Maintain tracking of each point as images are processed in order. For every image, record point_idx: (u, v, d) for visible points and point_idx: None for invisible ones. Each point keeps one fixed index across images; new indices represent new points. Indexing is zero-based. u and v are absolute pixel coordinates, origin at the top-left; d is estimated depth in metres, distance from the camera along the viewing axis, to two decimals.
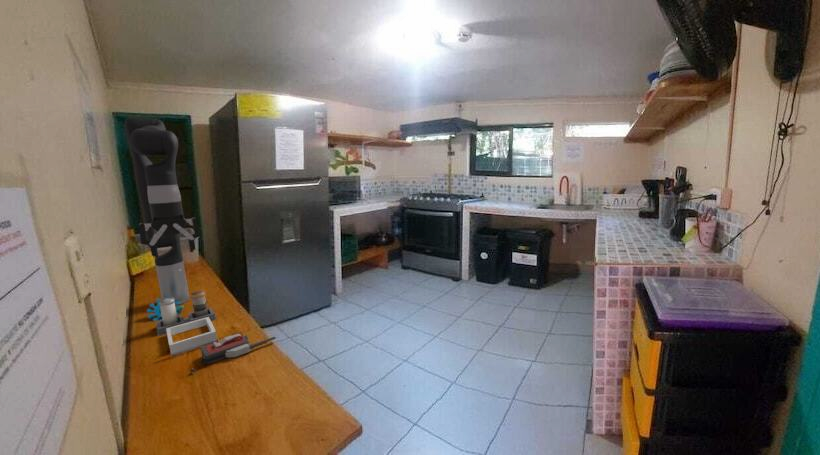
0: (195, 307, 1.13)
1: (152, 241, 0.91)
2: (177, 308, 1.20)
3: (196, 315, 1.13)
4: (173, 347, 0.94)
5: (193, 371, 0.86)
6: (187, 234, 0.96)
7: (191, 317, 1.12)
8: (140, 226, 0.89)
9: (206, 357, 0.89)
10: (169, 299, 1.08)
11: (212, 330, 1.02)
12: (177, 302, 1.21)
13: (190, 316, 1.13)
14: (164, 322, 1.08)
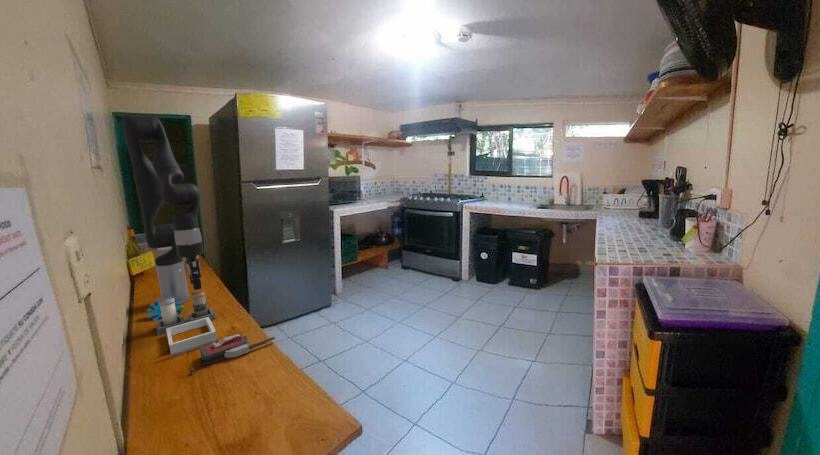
0: (195, 307, 1.13)
1: None
2: (177, 308, 1.20)
3: (196, 315, 1.13)
4: (173, 347, 0.94)
5: (192, 371, 0.85)
6: None
7: (191, 317, 1.12)
8: (198, 262, 1.07)
9: (205, 357, 0.89)
10: (169, 299, 1.08)
11: (212, 330, 1.02)
12: (177, 302, 1.22)
13: (190, 316, 1.13)
14: (164, 322, 1.08)
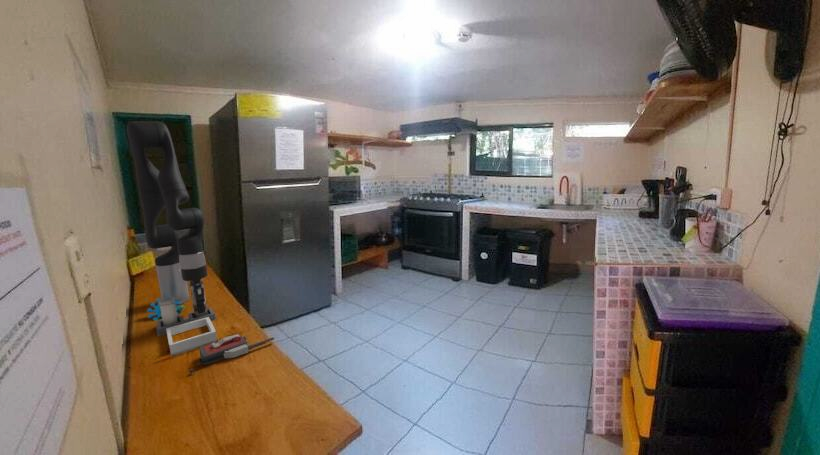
0: (195, 307, 1.13)
1: None
2: (177, 308, 1.20)
3: (196, 315, 1.13)
4: (173, 347, 0.94)
5: (192, 371, 0.85)
6: None
7: (191, 317, 1.12)
8: (203, 290, 1.09)
9: (204, 358, 0.89)
10: (169, 299, 1.08)
11: (212, 330, 1.02)
12: (177, 302, 1.22)
13: (190, 316, 1.13)
14: (164, 322, 1.08)
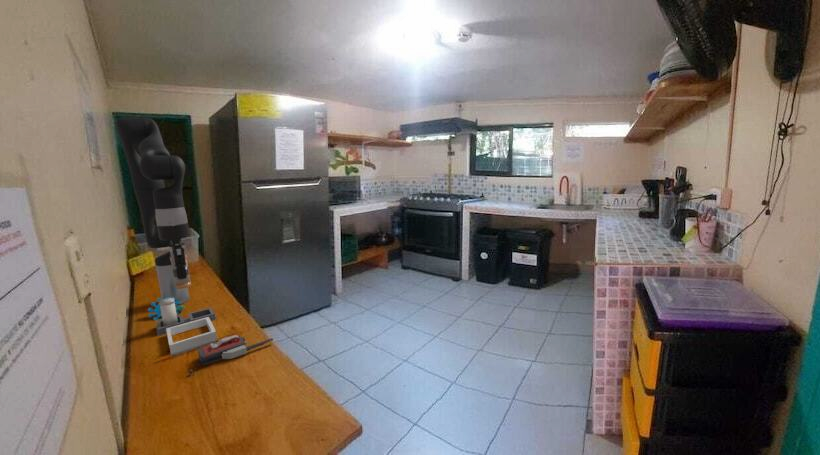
0: (175, 272, 0.97)
1: None
2: (177, 308, 1.21)
3: (176, 281, 0.98)
4: (173, 347, 0.94)
5: (191, 372, 0.85)
6: None
7: (191, 317, 1.12)
8: (183, 250, 0.94)
9: (202, 358, 0.88)
10: (169, 299, 1.08)
11: (212, 330, 1.02)
12: (178, 302, 1.22)
13: (190, 316, 1.13)
14: (164, 322, 1.08)
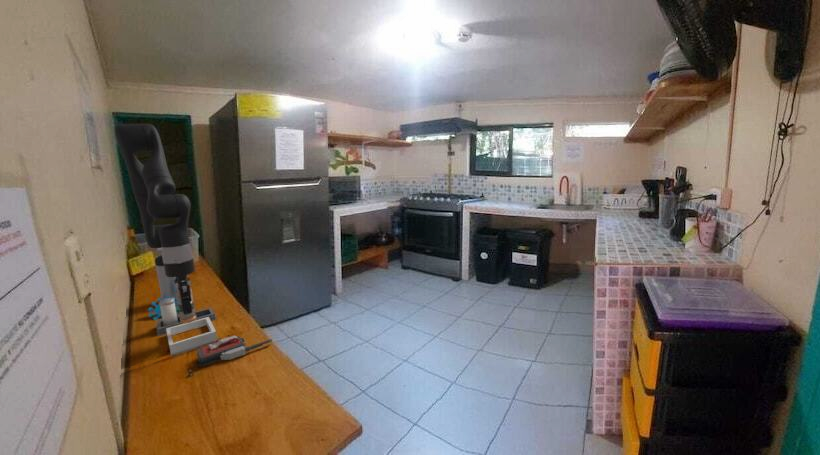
0: (180, 307, 0.99)
1: None
2: (177, 308, 1.21)
3: (182, 316, 1.00)
4: (173, 347, 0.94)
5: (191, 372, 0.85)
6: None
7: None
8: (189, 287, 0.96)
9: (201, 359, 0.88)
10: (169, 299, 1.08)
11: (212, 330, 1.02)
12: None
13: None
14: (164, 322, 1.08)
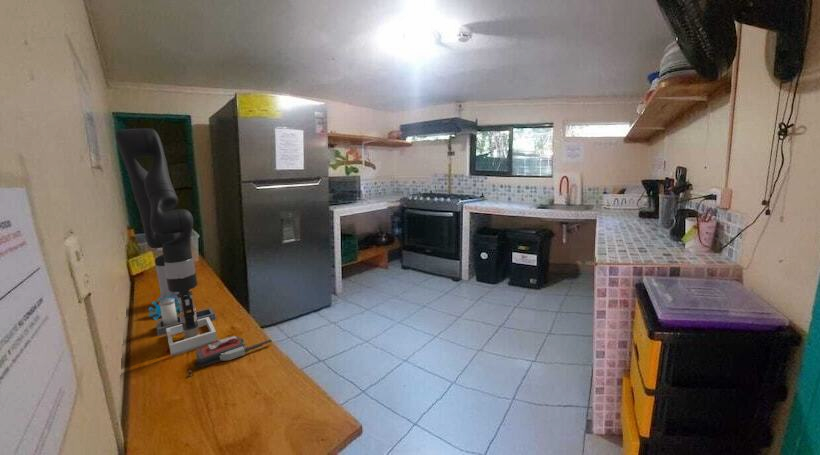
0: (184, 325, 1.00)
1: None
2: (178, 307, 1.21)
3: (185, 334, 1.01)
4: (173, 347, 0.94)
5: (190, 373, 0.85)
6: None
7: None
8: (192, 300, 0.96)
9: (200, 360, 0.88)
10: (169, 299, 1.08)
11: (212, 330, 1.02)
12: None
13: None
14: (164, 322, 1.08)
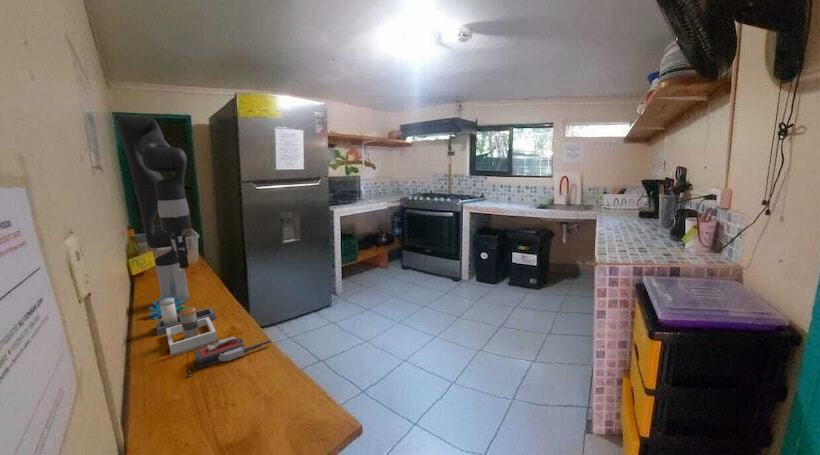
0: (184, 326, 1.00)
1: None
2: (178, 307, 1.21)
3: (185, 335, 1.01)
4: (173, 347, 0.94)
5: (190, 373, 0.84)
6: None
7: None
8: (185, 237, 0.95)
9: (199, 360, 0.88)
10: (169, 299, 1.08)
11: (212, 330, 1.02)
12: (178, 301, 1.22)
13: None
14: (164, 322, 1.08)
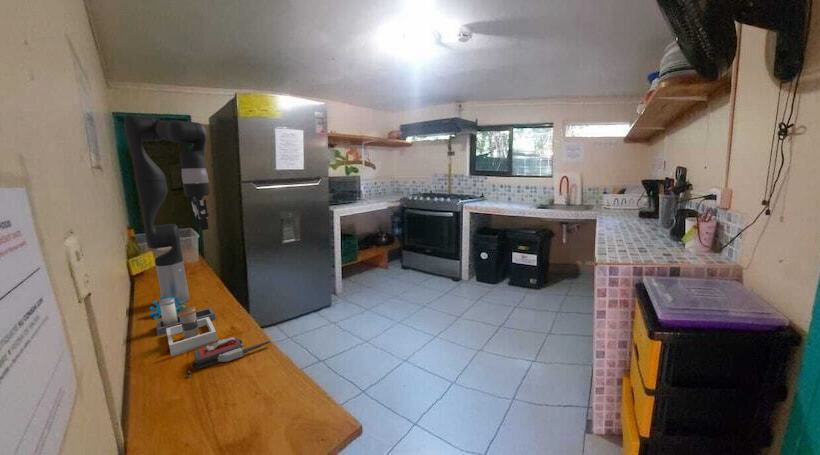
0: (184, 326, 1.00)
1: None
2: (178, 307, 1.21)
3: (185, 335, 1.01)
4: (173, 347, 0.94)
5: (189, 374, 0.84)
6: None
7: None
8: (205, 201, 1.07)
9: (198, 361, 0.87)
10: (169, 299, 1.08)
11: (212, 330, 1.02)
12: (179, 301, 1.22)
13: None
14: (164, 322, 1.08)
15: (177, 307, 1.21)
